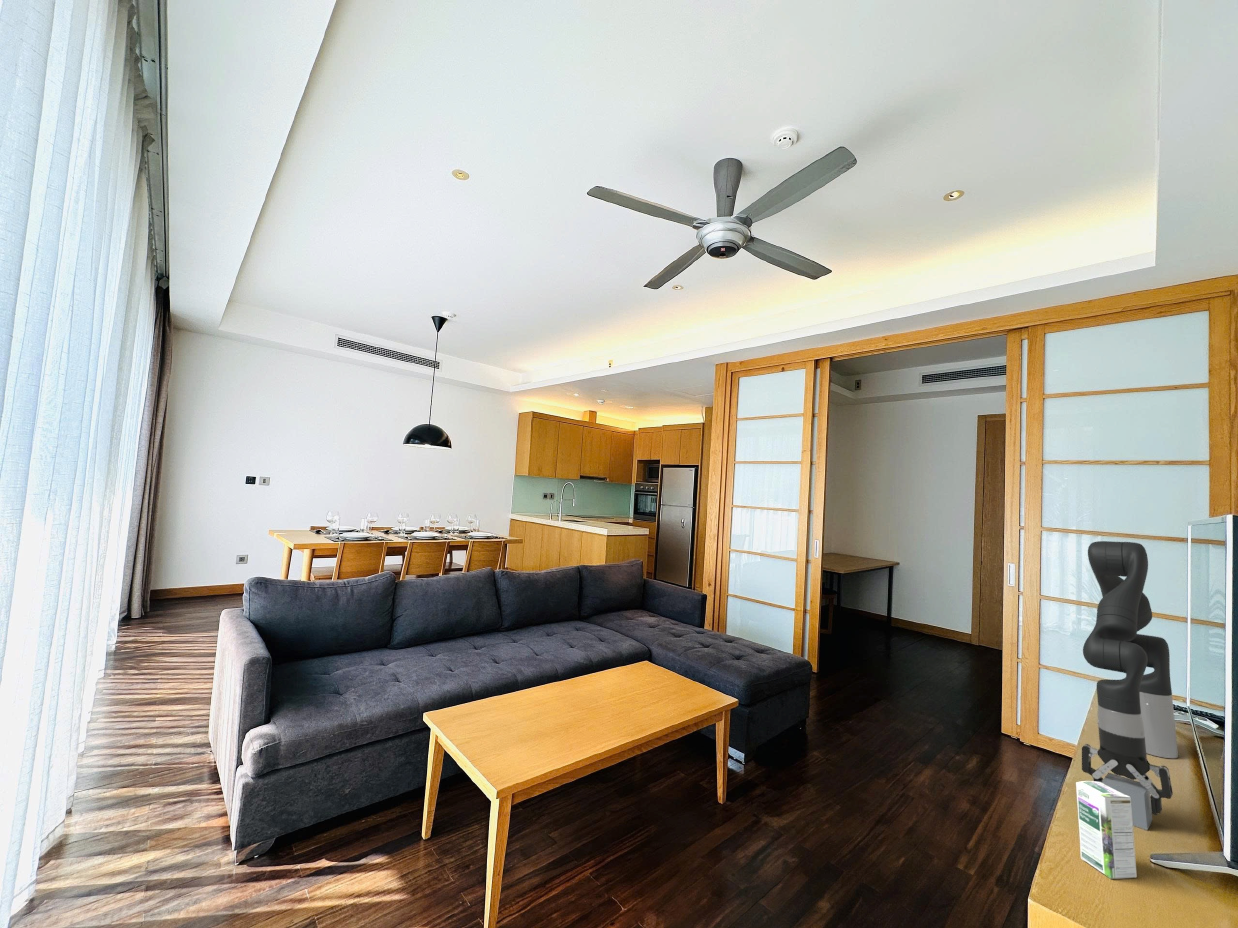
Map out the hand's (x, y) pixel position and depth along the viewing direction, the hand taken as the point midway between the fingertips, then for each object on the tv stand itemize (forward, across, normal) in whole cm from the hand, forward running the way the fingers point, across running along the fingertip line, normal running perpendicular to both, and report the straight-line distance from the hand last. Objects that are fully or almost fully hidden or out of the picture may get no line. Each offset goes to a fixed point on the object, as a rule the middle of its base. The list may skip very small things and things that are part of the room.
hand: (1127, 804), depth 111 cm
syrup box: (+3, -1, +27) cm, 27 cm away
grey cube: (+3, 0, 0) cm, 3 cm away
